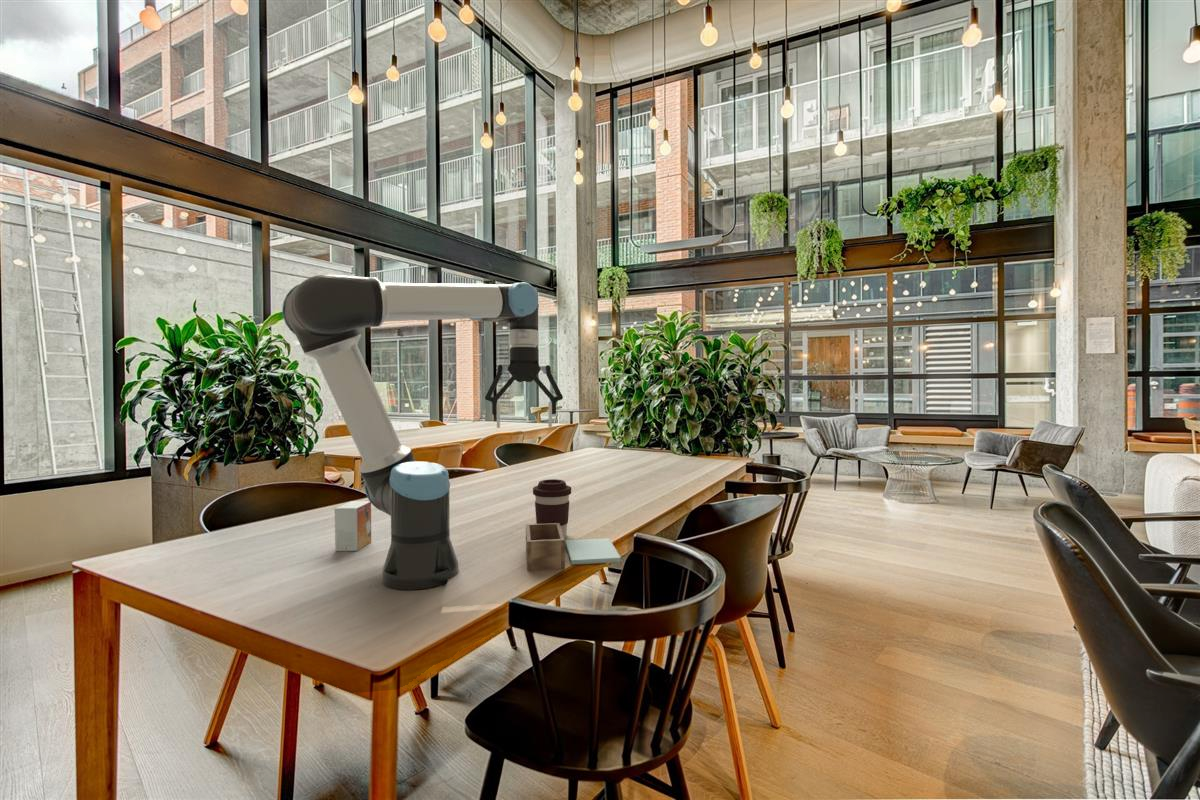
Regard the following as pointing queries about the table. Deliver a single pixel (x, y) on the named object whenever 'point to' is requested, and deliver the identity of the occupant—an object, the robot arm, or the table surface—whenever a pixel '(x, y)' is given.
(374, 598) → the table surface
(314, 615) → the table surface
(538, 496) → the coffee cup
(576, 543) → the lid
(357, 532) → the small box
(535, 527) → the box
